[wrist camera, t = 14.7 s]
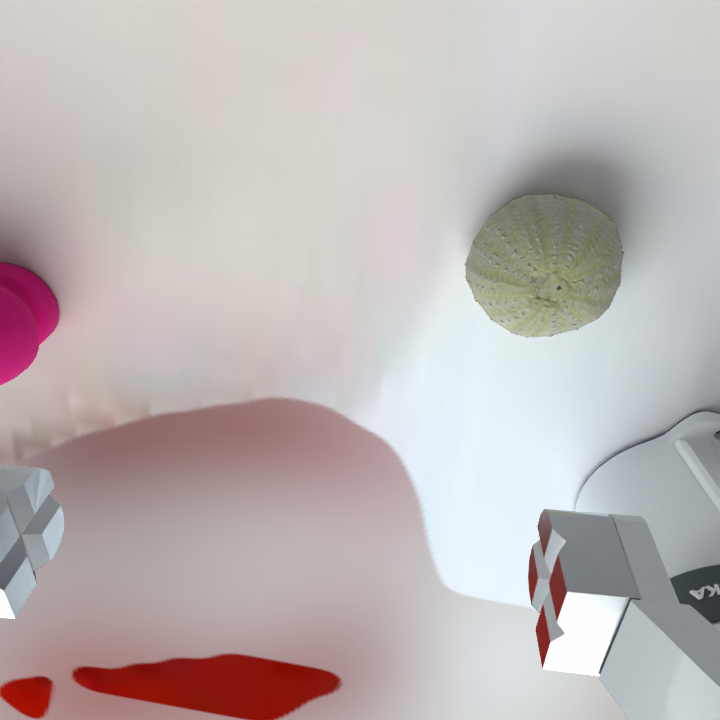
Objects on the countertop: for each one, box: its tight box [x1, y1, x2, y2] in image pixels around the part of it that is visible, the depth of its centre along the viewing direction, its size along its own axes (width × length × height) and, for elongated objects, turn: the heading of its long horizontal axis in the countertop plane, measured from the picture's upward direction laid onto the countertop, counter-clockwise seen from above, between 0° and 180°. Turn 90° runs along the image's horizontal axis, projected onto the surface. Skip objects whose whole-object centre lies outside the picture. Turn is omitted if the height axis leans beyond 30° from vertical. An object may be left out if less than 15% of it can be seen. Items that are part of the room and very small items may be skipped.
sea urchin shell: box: [465, 194, 624, 338], centre depth 39 cm, size 9×8×8 cm
